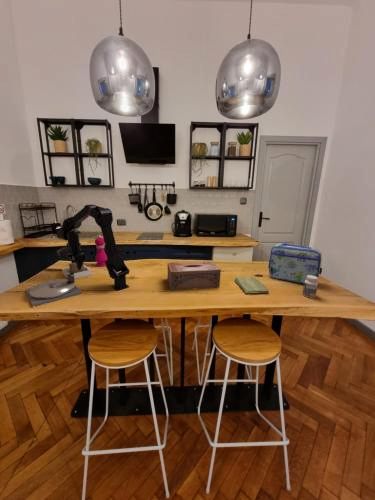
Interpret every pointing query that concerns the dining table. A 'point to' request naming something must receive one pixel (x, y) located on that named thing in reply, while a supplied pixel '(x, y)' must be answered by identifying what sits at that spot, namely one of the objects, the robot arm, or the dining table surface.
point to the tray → (80, 274)
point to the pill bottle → (310, 286)
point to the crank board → (43, 301)
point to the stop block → (75, 268)
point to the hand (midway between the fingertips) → (76, 268)
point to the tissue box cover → (193, 275)
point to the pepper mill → (100, 252)
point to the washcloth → (251, 285)
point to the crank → (53, 288)
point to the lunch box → (294, 262)
